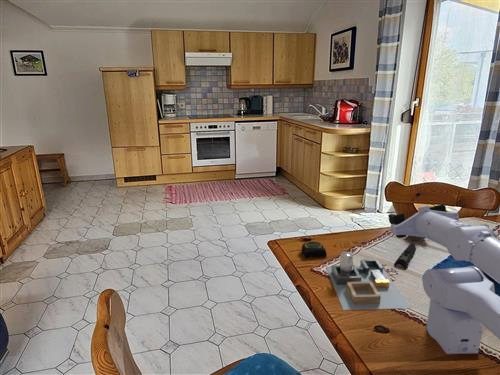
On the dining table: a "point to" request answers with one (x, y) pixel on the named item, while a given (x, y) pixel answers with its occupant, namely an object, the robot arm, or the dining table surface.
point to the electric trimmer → (405, 257)
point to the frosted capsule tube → (346, 264)
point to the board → (388, 295)
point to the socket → (356, 271)
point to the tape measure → (313, 250)
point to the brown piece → (363, 299)
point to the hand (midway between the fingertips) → (405, 214)
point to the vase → (416, 237)
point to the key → (379, 279)
